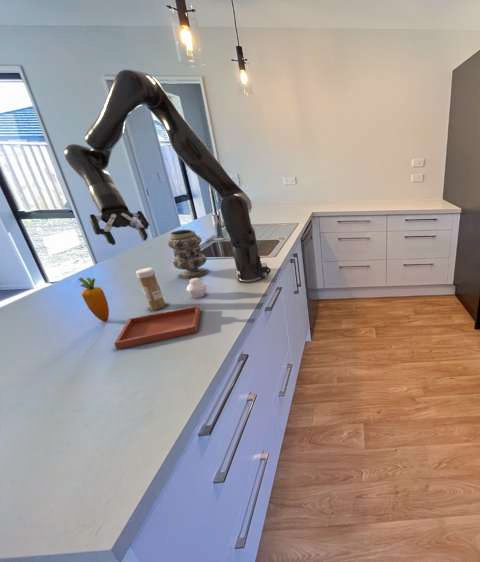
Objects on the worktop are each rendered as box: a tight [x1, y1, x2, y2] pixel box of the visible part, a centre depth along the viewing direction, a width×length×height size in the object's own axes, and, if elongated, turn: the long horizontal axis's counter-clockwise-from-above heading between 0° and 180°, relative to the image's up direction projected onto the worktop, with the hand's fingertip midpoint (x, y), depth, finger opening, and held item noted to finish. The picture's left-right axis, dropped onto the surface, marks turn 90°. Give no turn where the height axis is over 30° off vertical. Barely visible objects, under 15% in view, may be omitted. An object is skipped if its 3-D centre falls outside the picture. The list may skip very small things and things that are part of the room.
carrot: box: [77, 277, 110, 323], centre depth 89 cm, size 5×5×15 cm
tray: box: [114, 305, 201, 350], centre depth 87 cm, size 19×14×2 cm
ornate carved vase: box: [166, 229, 208, 279], centre depth 122 cm, size 12×12×18 cm
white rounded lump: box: [186, 277, 208, 299], centre depth 105 cm, size 6×6×7 cm
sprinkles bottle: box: [135, 267, 167, 311], centre depth 97 cm, size 5×5×13 cm
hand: (130, 241), depth 98 cm, fingers open, 8 cm apart
